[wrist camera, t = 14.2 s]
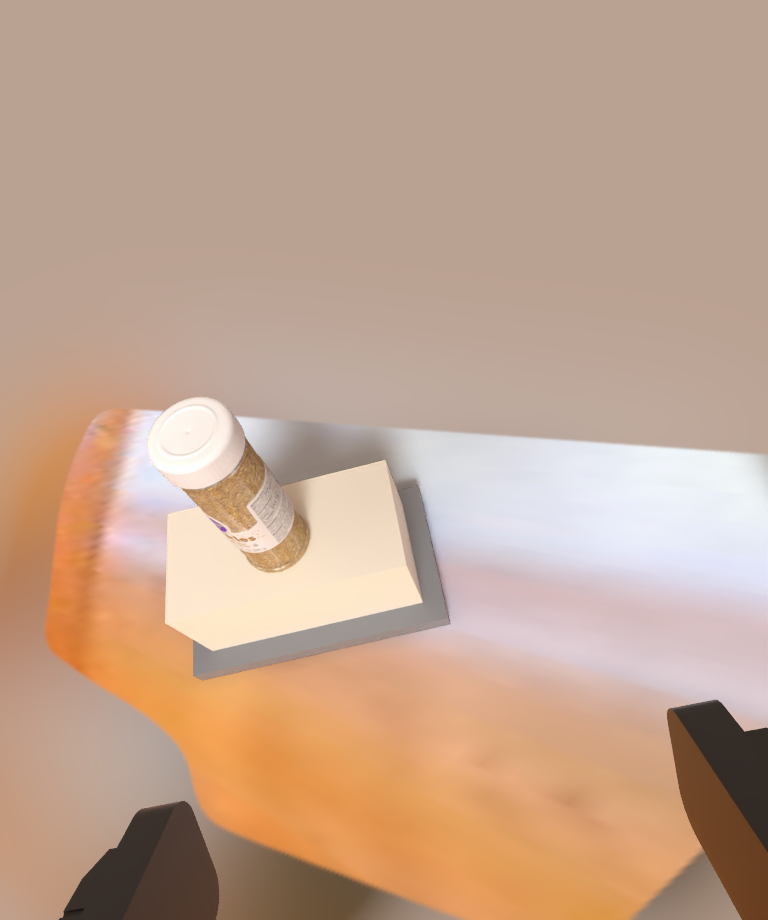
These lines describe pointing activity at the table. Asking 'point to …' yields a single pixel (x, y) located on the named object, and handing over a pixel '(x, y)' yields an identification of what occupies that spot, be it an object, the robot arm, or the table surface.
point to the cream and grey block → (307, 577)
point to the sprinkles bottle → (228, 481)
